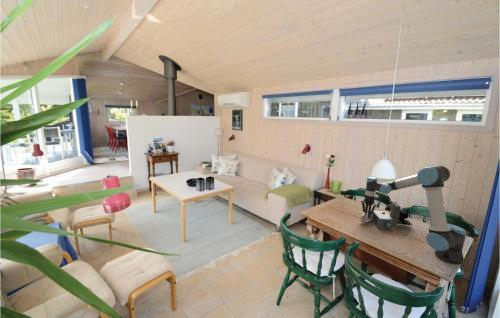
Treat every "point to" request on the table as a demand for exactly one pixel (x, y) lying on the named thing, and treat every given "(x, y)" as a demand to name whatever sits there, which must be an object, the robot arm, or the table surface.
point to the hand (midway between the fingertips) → (366, 220)
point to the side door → (365, 217)
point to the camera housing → (382, 219)
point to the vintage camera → (399, 215)
